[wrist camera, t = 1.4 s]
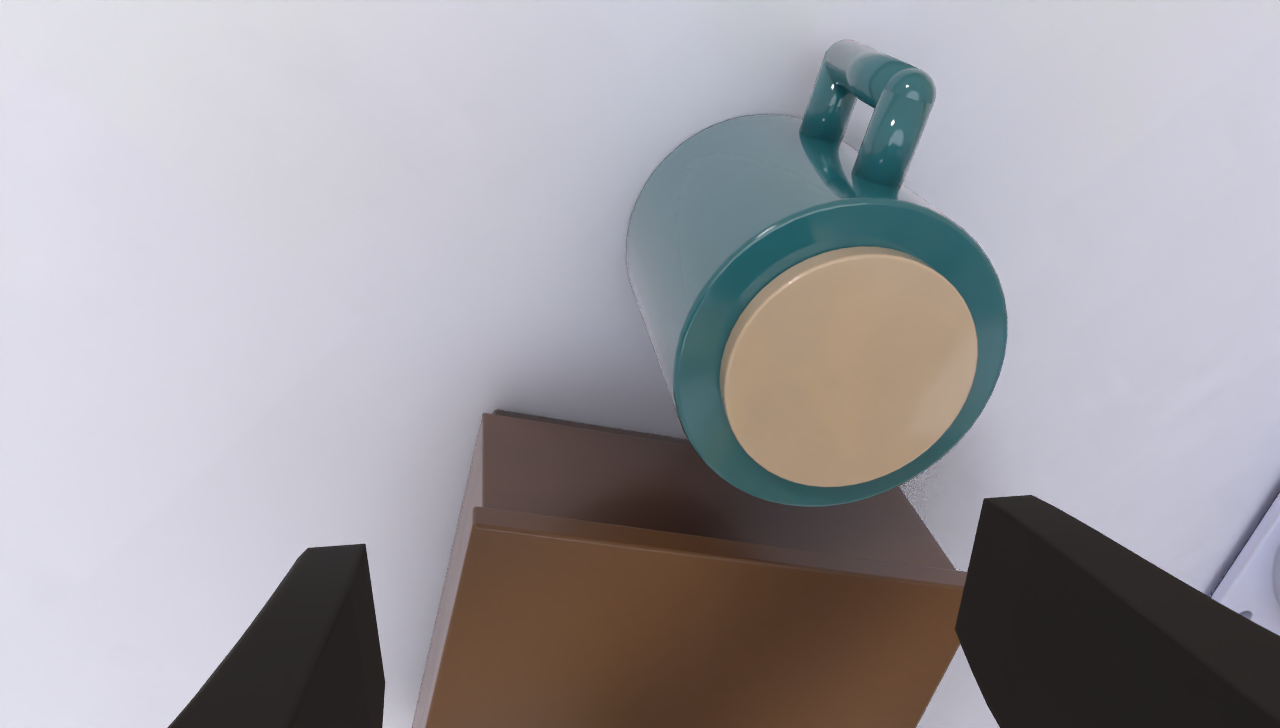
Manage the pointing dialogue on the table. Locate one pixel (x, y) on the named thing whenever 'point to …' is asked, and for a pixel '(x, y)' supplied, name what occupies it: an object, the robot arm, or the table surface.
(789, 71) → the table surface
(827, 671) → the brown wooden box
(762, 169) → the cup
